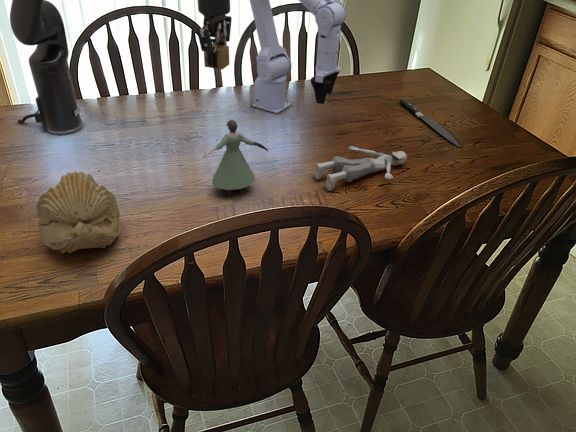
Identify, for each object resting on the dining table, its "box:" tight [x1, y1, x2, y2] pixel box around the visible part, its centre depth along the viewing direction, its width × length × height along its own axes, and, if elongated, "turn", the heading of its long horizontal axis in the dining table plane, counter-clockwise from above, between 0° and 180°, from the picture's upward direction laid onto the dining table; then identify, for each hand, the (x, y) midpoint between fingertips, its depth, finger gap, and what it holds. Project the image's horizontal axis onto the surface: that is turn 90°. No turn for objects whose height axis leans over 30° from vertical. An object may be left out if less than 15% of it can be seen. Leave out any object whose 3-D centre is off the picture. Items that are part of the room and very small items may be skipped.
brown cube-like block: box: [203, 42, 230, 71], centre depth 124 cm, size 5×4×5 cm
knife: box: [398, 98, 461, 147], centre depth 152 cm, size 32×4×1 cm, turn 20°
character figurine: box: [202, 119, 270, 196], centre depth 113 cm, size 16×8×18 cm, turn 114°
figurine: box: [313, 145, 408, 192], centre depth 125 cm, size 18×5×25 cm
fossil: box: [36, 170, 122, 254], centre depth 97 cm, size 15×17×15 cm
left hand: (217, 63), depth 126 cm, fingers closed on brown cube-like block, 4 cm apart
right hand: (323, 98), depth 143 cm, fingers open, 7 cm apart
